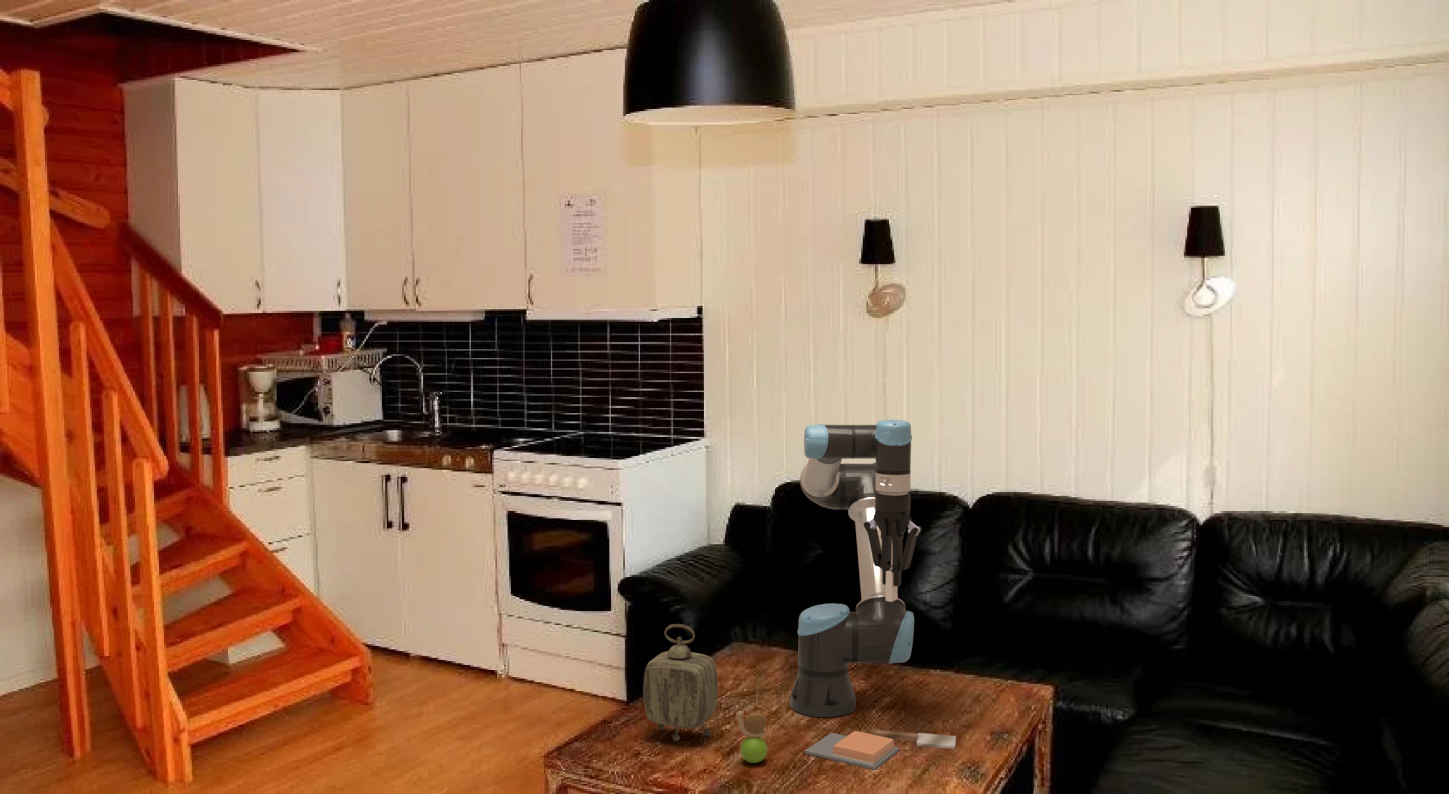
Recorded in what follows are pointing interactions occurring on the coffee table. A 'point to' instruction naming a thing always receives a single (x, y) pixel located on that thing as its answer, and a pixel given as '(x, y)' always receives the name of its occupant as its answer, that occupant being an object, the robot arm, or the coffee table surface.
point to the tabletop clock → (680, 687)
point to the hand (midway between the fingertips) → (891, 600)
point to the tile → (863, 747)
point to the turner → (919, 738)
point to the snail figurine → (752, 736)
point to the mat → (826, 751)
